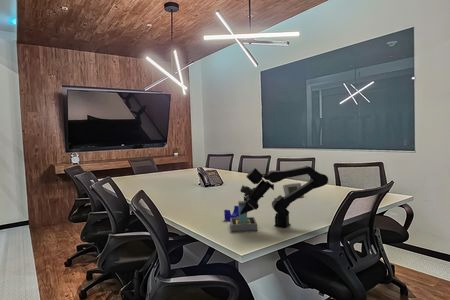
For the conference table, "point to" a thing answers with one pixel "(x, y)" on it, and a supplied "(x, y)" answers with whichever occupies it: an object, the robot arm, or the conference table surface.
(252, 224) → the socket box
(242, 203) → the plug
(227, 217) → the cable clip
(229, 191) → the conference table surface
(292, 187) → the digital clock
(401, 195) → the conference table surface
